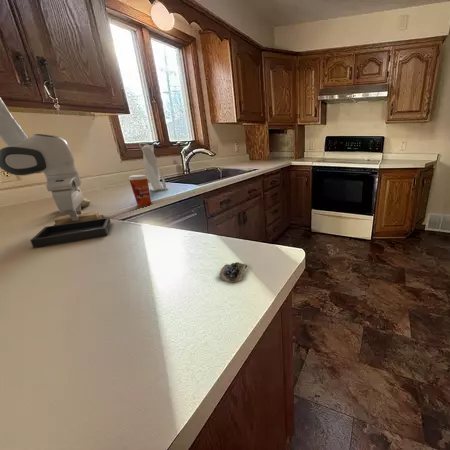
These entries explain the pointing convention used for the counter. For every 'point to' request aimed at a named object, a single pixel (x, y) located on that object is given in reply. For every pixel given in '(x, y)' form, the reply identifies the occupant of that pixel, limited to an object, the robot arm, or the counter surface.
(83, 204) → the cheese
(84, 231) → the tray
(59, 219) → the board
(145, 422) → the counter surface
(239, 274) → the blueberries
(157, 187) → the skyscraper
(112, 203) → the counter surface
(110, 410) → the counter surface
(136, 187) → the paper cup
